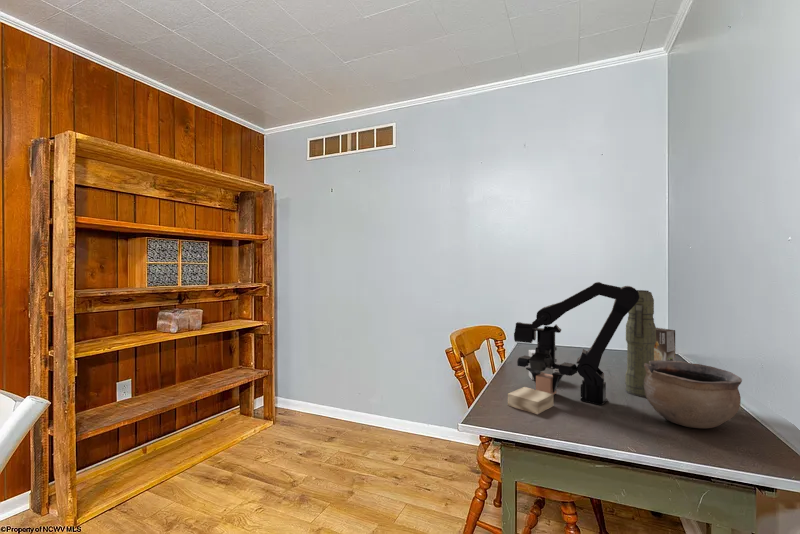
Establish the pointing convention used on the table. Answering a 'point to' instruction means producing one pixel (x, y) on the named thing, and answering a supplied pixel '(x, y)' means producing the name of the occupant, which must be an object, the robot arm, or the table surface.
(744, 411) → the table surface
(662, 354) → the coffee box
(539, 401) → the birch base block
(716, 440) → the table surface
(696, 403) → the ceramic bowl
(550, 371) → the small box
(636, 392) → the thermos
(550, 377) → the terracotta block
